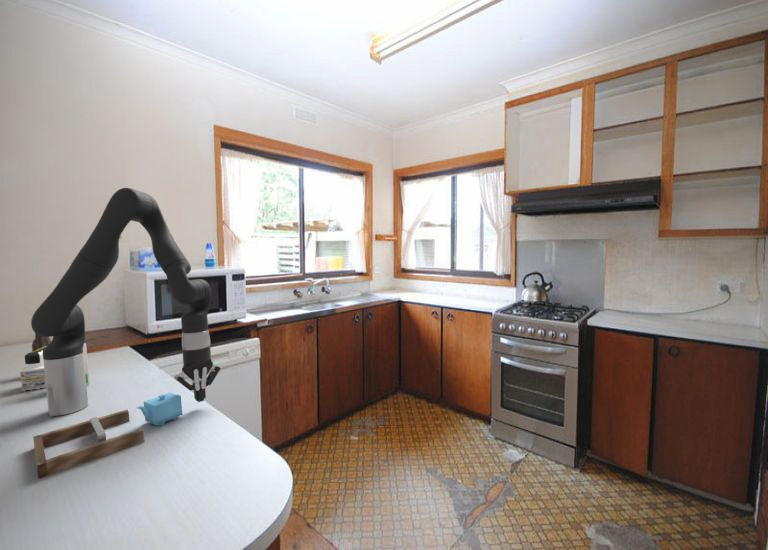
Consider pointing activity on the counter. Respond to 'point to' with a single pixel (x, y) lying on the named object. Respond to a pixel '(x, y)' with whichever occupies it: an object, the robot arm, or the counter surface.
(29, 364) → the container
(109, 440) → the bracket
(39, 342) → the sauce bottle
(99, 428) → the stop plate
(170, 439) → the counter surface
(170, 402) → the teapot
